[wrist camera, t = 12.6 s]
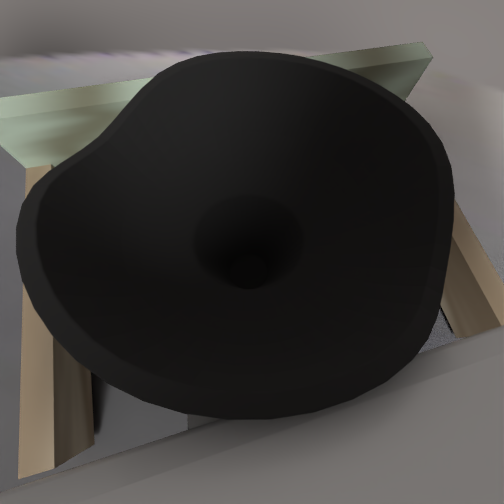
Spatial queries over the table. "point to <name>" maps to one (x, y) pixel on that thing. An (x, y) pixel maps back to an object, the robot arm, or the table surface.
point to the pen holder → (245, 238)
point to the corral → (88, 129)
